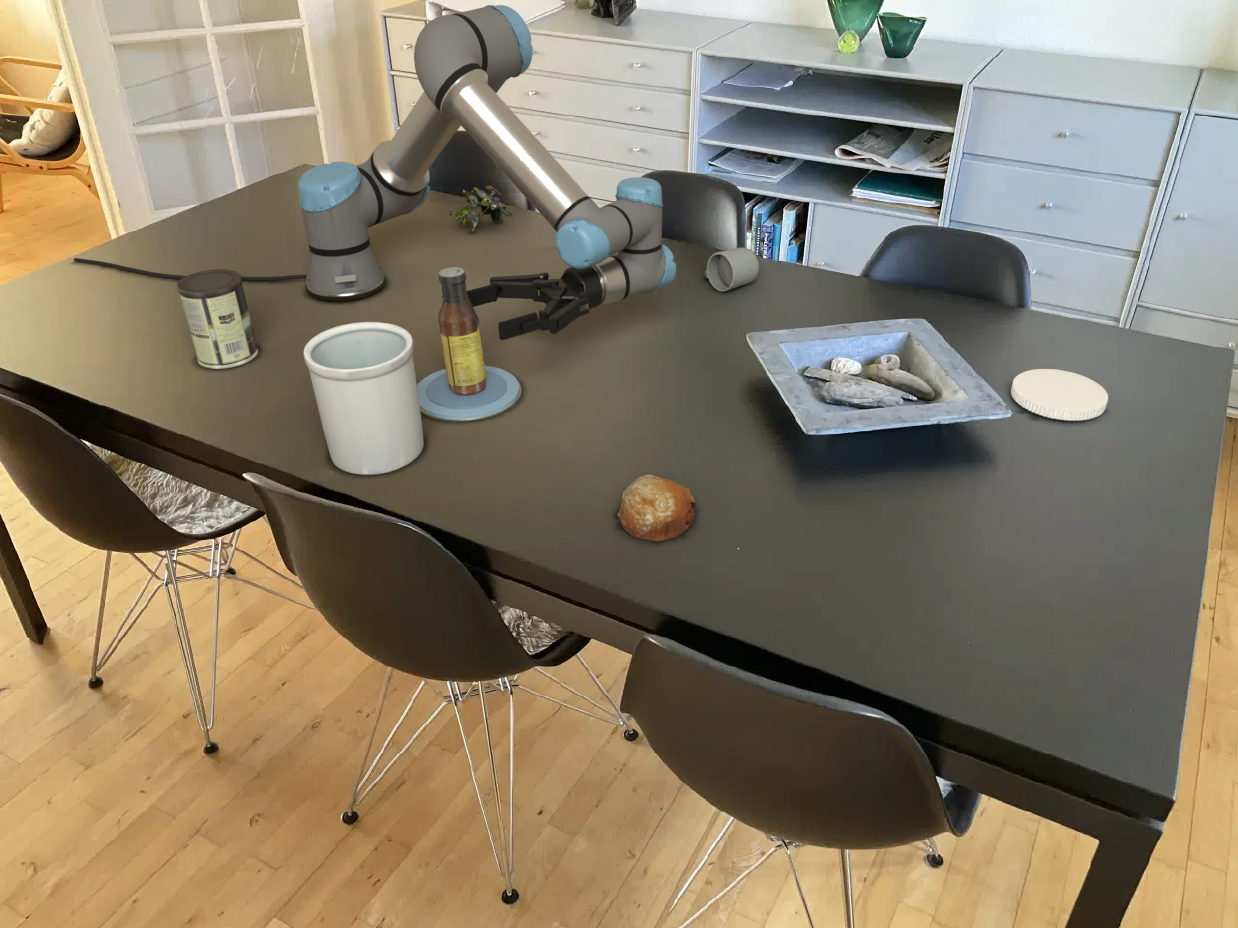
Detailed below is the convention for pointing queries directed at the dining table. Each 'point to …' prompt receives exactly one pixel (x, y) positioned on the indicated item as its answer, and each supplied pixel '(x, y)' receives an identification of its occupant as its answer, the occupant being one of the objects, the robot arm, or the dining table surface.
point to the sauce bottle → (460, 335)
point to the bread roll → (656, 508)
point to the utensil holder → (367, 396)
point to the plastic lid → (1059, 394)
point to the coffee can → (218, 318)
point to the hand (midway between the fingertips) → (478, 316)
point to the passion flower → (486, 204)
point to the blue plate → (468, 397)
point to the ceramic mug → (732, 268)
